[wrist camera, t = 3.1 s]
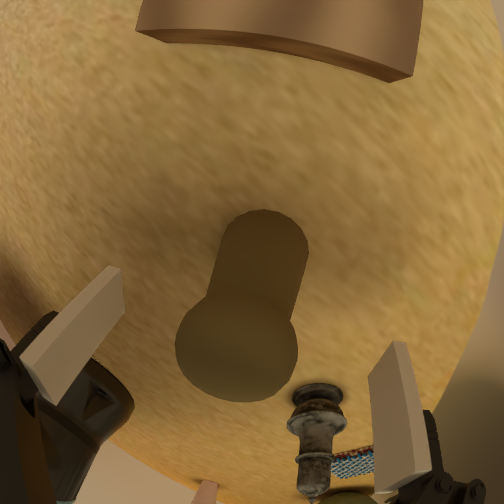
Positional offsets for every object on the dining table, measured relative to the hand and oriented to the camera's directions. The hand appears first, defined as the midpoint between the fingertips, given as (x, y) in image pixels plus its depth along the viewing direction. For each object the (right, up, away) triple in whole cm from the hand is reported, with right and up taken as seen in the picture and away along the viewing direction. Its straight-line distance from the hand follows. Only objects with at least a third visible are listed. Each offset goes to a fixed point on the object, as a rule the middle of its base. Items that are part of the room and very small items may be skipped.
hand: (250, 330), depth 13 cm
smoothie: (-9, -48, +36) cm, 61 cm away
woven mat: (+17, -28, +22) cm, 40 cm away
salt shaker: (+7, -11, +14) cm, 19 cm away
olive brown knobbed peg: (+1, +4, +7) cm, 8 cm away
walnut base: (+3, +21, -2) cm, 21 cm away
